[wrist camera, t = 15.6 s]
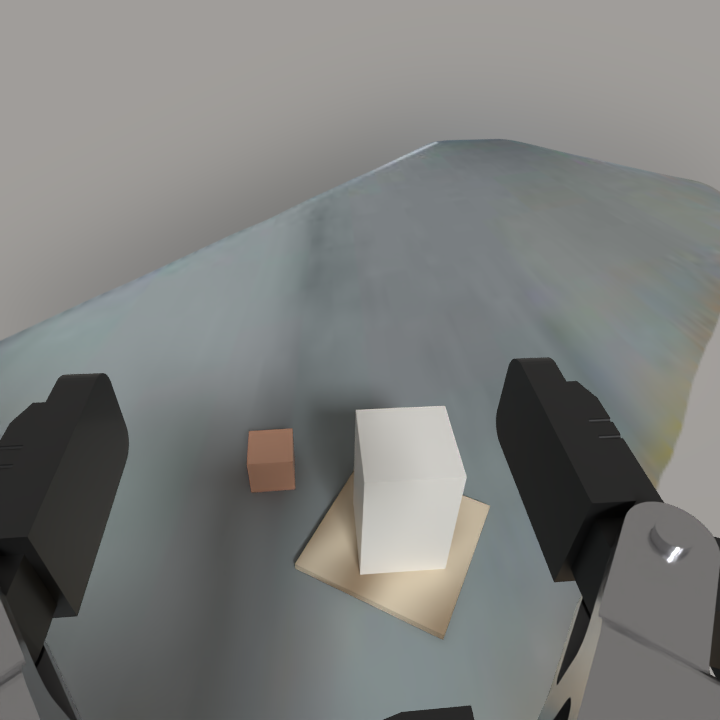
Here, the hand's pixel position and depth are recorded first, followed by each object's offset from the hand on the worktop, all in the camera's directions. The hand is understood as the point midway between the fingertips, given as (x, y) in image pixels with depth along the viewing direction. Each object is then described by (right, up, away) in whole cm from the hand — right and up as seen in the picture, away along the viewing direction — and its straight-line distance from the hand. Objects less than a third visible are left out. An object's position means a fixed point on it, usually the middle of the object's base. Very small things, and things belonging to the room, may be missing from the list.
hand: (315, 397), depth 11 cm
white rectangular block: (+4, -12, +29) cm, 31 cm away
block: (-6, -9, +34) cm, 35 cm away
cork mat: (+4, -12, +29) cm, 32 cm away
